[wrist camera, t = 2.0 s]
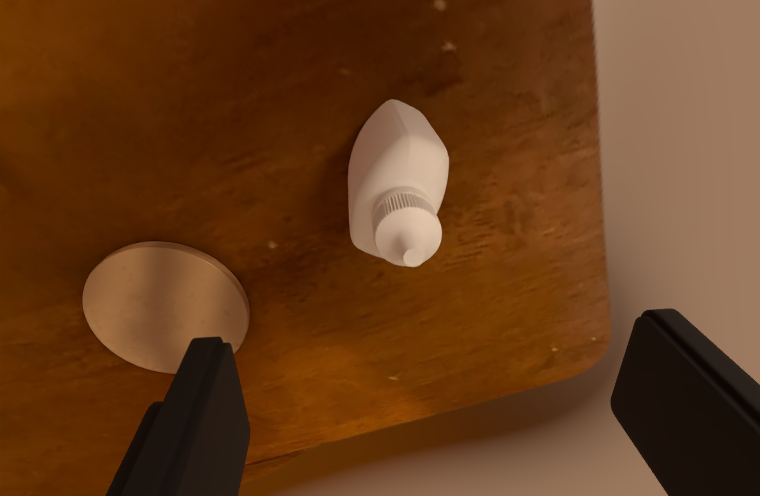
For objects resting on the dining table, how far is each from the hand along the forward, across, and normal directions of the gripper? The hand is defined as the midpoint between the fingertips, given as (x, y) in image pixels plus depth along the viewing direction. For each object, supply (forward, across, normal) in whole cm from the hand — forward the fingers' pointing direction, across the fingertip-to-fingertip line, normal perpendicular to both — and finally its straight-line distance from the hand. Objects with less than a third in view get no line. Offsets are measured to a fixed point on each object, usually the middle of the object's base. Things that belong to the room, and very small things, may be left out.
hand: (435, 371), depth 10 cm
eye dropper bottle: (+17, 0, 0) cm, 17 cm away
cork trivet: (+17, +14, +10) cm, 24 cm away
